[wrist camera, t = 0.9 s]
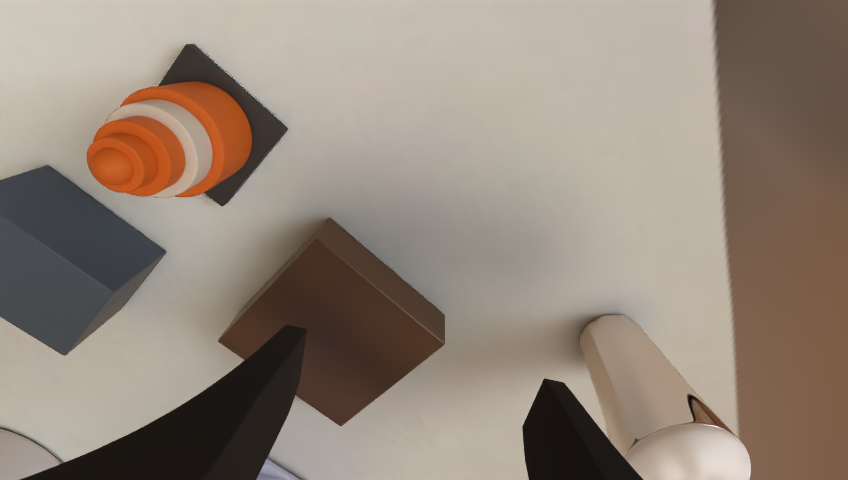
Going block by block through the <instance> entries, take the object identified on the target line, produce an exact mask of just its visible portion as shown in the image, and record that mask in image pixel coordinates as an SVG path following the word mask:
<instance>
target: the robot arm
mask: <svg viewBox="0 0 848 480" xmlns="http://www.w3.org/2000/svg"><path fill="white" fill-rule="evenodd" d="M306 335H307V329H305V328H301V327H296V326H291V325H285V326H283V327H282V328H281V329H280V330H279V331H278V332H277V333H276V334H274V335H273V336H272V337H271V338H270V339H269V340H268V341H267V342H266V343H265V344H263V345H262V346H261V347H260V348H259V349H258V350H257V351H255V352H254V353H253V354H252V355H251V356H249V357H248V358H247V359H246V360H244V361H243V362H242V363H241V364H240V365H238V366H237V367H236V368H235V369H233V370H232V371H231V372H229V373H228V374H227V375H225V376H224V377H222V378H221V379H220V380H218V381H217V382H216V383H214V384H213V385H211V386H210V387H209V388H207V389H206V390H204V391H203V392H201V393H200V394H198V395H197V396H195V397H194V398H192V399H191V400H189V401H187V402H186V403H184V404H183V405H181V406H179V407H178V408H176V409H174V410H173V411H171V412H169V413H167V414H166V415H164V416H162V417H160V418H159V419H157V420H155V421H153V422H151V423H150V424H148V425H146V426H144V427H142V428H140V429H138V430H136V431H134V432H132V433H130V434H128V435H126V436H124V437H122V438H120V439H118V440H116V441H113V442H111V443H109V444H107V445H105V446H103V447H101V448H98V449H96V450H94V451H92V452H89V453H87V454H85V455H82V456H80V457H78V458H75V459H73V460H70V461H67V462H65V463H62V464H60V465H57V466H54V467H52V468H49V469H47V470H44V471H41V472H39V473H36V474H34V475H31V476H28V477H25V478H23V479H20V480H300V479H298V478H297V477H295V476H294V475H292V474H290V473H289V472H287V471H286V470H284V469H282V468H281V467H279V466H278V465H276V464H274V463H273V462H271V461H270V460H268V459H267V457H268V455H269V453H270V451H271V449H272V447H273V445H274V443H275V441H276V438H277V436H278V434H279V432H280V430H281V428H282V426H283V424H284V422H285V420H286V418H287V416H288V413H289V411H290V408H291V405H292V402H293V400H294V397H295V394H296V391H297V388H298V385H299V383H300V377H301V370H302V363H303V356H304V349H305V342H306ZM523 441H524V453H525V462H526V467H527V472H528V477H529V480H644V479H643V478H642V477H641V476H640V475H639V474H638V473H637V472H636V471H635V470H634V468H633V467H632V466H631V465H630V464H629V463H628V462H627V460H626V459H625V458H624V457H623V456H622V455H621V454H620V452H619V451H618V450H617V449H616V448H615V446H614V445H613V444H612V443H611V442H610V440H609V439H608V438H607V437H606V435H605V434H604V433H603V432H602V430H601V429H600V428H599V427H598V425H597V424H596V423H595V422H594V420H593V419H592V418H591V416H590V415H589V414H588V413H587V411H586V410H585V409H584V407H583V406H582V405H581V404H580V402H579V401H578V400H577V398H576V397H575V396H574V395H573V393H572V392H571V391H570V390H569V388H568V387H567V386H566V385H565V384H564V383H563V382H559V381H554V380H549V379H544V380H543V382H542V385H541V387H540V389H539V391H538V393H537V396H536V398H535V400H534V402H533V404H532V407H531V409H530V411H529V413H528V416H527V418H526V420H525V422H524V424H523Z"/></svg>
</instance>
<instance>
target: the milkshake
mask: <svg viewBox="0 0 848 480" xmlns="http://www.w3.org/2000/svg"><path fill="white" fill-rule="evenodd" d="M579 342H580V345H581V349H582V353H583V356H584V359H585V362H586V365H587V368H588V371H589V374H590V377H591V380H592V383H593V386H594V389H595V392H596V395H597V398H598V401H599V404H600V407H601V410H602V413H603V417H604V421H605V426H606V430H607V434H608V437H609V440H610V442H611V443H612V444H613V445H614V446H615V448H616V449H617V450H618V451H619V452H620V454H621V455H622V456H623V457H624V458H625V459H626V460H627V462H628V463H629V464H630V465H631V466H632V467H633V468H634V470H635V471H636V472H637V473H638V474H639V475H640V476H641V477H642V478H643V479H644V480H749V479H750V473H751V464H750V458H749V455H748V452H747V450H746V448H745V447H744V445H743V444H742V442H741V441H740V440H739V439H738V438H737V437H736V436H735V435H734V434H733V433H732V431H731V430H730V429H729V428H728V427H727V426H726V425H725V424H724V423H723V422H722V420H721V419H720V418H719V417H718V416H717V415H716V414H715V413H714V412H713V411H712V409H711V408H710V407H709V406H708V405H707V404H706V403H705V402H704V401H703V399H702V398H701V397H700V396H699V395H698V394H697V393H696V392H695V391H694V389H693V388H692V387H691V386H690V385H689V384H688V382H687V381H686V380H685V379H684V378H683V376H682V375H681V374H680V373H679V372H678V371H677V369H676V368H675V367H674V366H673V365H672V363H671V362H670V361H669V360H668V359H667V358H666V356H665V355H664V354H663V353H662V352H661V351H660V349H659V348H658V347H657V346H656V345H655V343H654V342H653V341H652V340H651V339H650V338H649V336H648V335H647V334H646V333H645V332H644V331H643V329H642V328H641V327H640V326H639V325H638V324H637V323H635V322H634V321H632V320H630V319H629V318H627V317H626V316H624V315H603V316H601V317H600V318H598V319H596V320H594V321H592V322H591V323H589V324H587V325H586V327H585V329H584V331H583V333H582V335H581V337H580V338H579Z"/></svg>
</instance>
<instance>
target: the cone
mask: <svg viewBox="0 0 848 480" xmlns="http://www.w3.org/2000/svg"><path fill="white" fill-rule="evenodd" d="M287 130H288V128H287V127H286V126H285V125H283V124H282V123H281V122H280V121H279V120H278V119H277V118H276V117H274V116H273V115H272V114H271V113H270V112H269V111H268V110H267V109H266V108H264V107H263V106H262V105H261V104H260V103H259V102H258V101H257V100H255V99H254V98H253V97H252V96H251V95H250V94H249V93H248V92H246V91H245V90H244V89H243V88H242V87H241V86H240V85H239V84H238V83H236V82H235V81H234V80H233V79H232V78H231V77H230V76H229V75H227V74H226V73H225V72H224V71H223V70H222V69H221V68H220V67H218V66H217V65H216V64H215V63H214V62H213V61H212V60H211V59H209V58H208V57H207V56H206V55H205V54H204V53H203V52H202V51H201V50H199V49H198V48H197V47H196V46H195V45H193V44H186V45H185V47H184V48H183V50H182V51H181V53H180V54H179V56H178V57H177V59H176V60H175V62H174V63H173V65H172V66H171V68H170V70H169V71H168V73H167V74H166V76H165V77H164V79H163V80H162V82H161V83H160V85H159V86H157V87H150V88H145V89H141V90H139V91H137V92H134V93H133V94H131V95H130V96H129V97H128V98H126V99H125V100H124V102H123V103H122V104H121V106H120V107H119V108H118V109H116V110H115V111H114V112H112V113H111V114H110V116H109V117H108V118H107V120H106V122H105V124H104V125H103V126H102V127H101V128H100V129H99V130H98V132H97V133H96V135H95V137H94V140H93V143H92V144H91V145H90V147H89V149H88V152H87V163H88V167H89V169H90V171H91V173H92V174H93V176H94V177H95V178H96V180H97V181H98V182H99V183H101V184H102V185H103V186H105V187H106V188H108V189H110V190H113V191H116V192H121V193H128V194H131V195H136V196H152V197H160V198H166V197H173V196H175V197H192V196H196V195H199V194H202V193H205V194H207V195H208V196H209V197H210V198H212V199H213V200H214V201H216V202H217V203H218V204H219V205H221V206H224V205H225V204H227V203H228V202H229V201H230V199H231V198H232V197H233V196H234V194H235V193H236V192H237V191H238V190H239V188H240V187H241V186H242V185H243V184H244V182H245V181H246V180H247V179H248V177H249V176H250V175H251V174H252V173H253V171H254V170H255V169H256V168H257V167H258V165H259V164H260V163H261V162H262V160H263V159H264V158H265V157H266V156H267V154H268V153H269V152H270V151H271V150H272V148H273V147H274V146H275V145H276V143H277V142H278V141H279V140H280V139H281V137H282V136H283V135H284V134H285V133H286V131H287Z"/></svg>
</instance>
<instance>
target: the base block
mask: <svg viewBox="0 0 848 480" xmlns="http://www.w3.org/2000/svg"><path fill="white" fill-rule="evenodd" d="M285 325H291V326H296V327H301V328H305V329H307V335H306V342H305V349H304V356H303V363H302V370H301V377H300V383H299V385H298V388H297V391H296V394H295V395H296V396H297V397H299V398H300V399H302V400H303V401H305V402H306V403H308V404H309V405H310V406H312V407H313V408H315V409H316V410H318V411H319V412H321V413H322V414H323V415H325V416H326V417H328V418H329V419H331V420H332V421H334V422H335V423H336V424H338V425H339V426H342V425H343V424H345V423H346V422H347V421H349V420H350V419H351V418H352V417H354V416H355V415H356V414H357V413H359V412H360V411H361V410H362V409H364V408H365V407H366V406H367V405H369V404H370V403H371V402H373V401H374V400H375V399H376V398H378V397H379V396H380V395H381V394H383V393H384V392H385V391H386V390H388V389H389V388H390V387H392V386H393V385H394V384H395V383H397V382H398V381H399V380H400V379H402V378H403V377H404V376H405V375H407V374H408V373H409V372H410V371H412V370H413V369H414V368H416V367H417V366H418V365H419V364H421V363H422V362H423V361H424V360H426V359H427V358H428V357H429V356H431V355H432V354H433V353H434V352H436V351H437V350H438V349H440V348H441V347H442V346H443V345H444V344H445V315H444V314H443V313H442V312H440V311H439V310H438V309H437V308H436V307H435V306H433V305H432V304H431V303H430V302H429V301H428V300H426V299H425V298H424V297H423V296H422V295H421V294H419V293H418V292H417V291H416V290H415V289H413V288H412V287H411V286H410V285H409V284H408V283H406V282H405V281H404V280H403V279H402V278H401V277H399V276H398V275H397V274H396V273H395V272H394V271H392V270H391V269H390V268H389V267H388V266H386V265H385V264H384V263H383V262H382V261H381V260H379V259H378V258H377V257H376V256H375V255H374V254H372V253H371V252H370V251H369V250H368V249H366V248H365V247H364V246H363V245H362V244H361V243H359V242H358V241H357V240H356V239H355V238H354V237H352V236H351V235H350V234H349V233H348V232H347V231H345V230H344V229H343V228H342V227H341V226H339V225H338V224H337V223H336V222H335V221H334V220H332V219H331V218H328V220H327V221H326V222H325V223H324V224H323V225H322V226H321V227H320V228H319V229H318V230H317V231H316V232H315V233H314V234H313V235H312V236H311V237H310V238H309V239H308V241H307V242H306V243H305V244H304V245H303V246H302V247H301V248H300V249H299V250H298V251H297V252H296V253H295V254H294V255H293V256H292V257H291V258H290V259H289V260H288V262H287V263H286V264H285V265H284V266H283V267H282V268H281V269H280V270H279V271H278V272H277V273H276V274H275V275H274V276H273V277H272V278H271V279H270V280H269V281H268V283H267V284H266V285H265V286H264V287H263V288H262V289H261V290H260V291H259V292H258V293H257V294H256V295H255V296H254V297H253V298H252V299H251V300H250V301H249V302H248V304H247V305H246V306H245V307H244V308H243V309H242V310H241V311H240V312H239V313H238V314H237V316H236V317H235V318H234V320H233V321H232V322H231V324H230V325H229V326H228V328H227V329H226V330H225V332H224V333H223V334H222V336H221V337H220V338H219V340H218V342H219V343H221V344H222V345H224V346H225V347H227V348H228V349H230V350H231V351H232V352H234V353H235V354H237V355H238V356H240V357H241V358H243V359H244V360H246V359H247V358H248V357H249V356H251V355H252V354H253V353H254V352H255V351H257V350H258V349H259V348H260V347H261V346H262V345H263V344H265V343H266V342H267V341H268V340H269V339H270V338H271V337H272V336H273V335H274V334H276V333H277V332H278V331H279V330H280V329H281V328H282V327H283V326H285Z"/></svg>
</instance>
